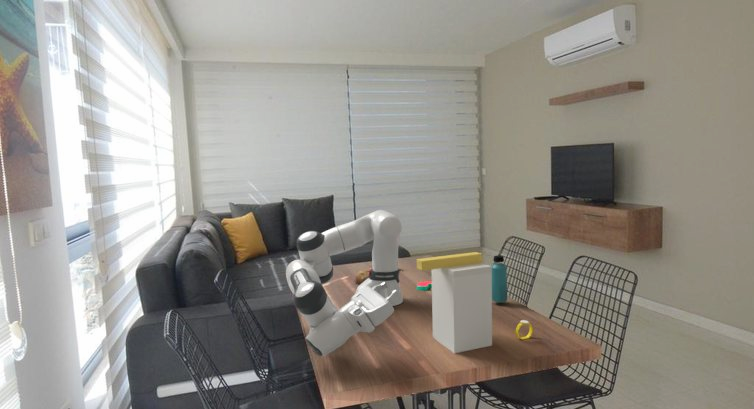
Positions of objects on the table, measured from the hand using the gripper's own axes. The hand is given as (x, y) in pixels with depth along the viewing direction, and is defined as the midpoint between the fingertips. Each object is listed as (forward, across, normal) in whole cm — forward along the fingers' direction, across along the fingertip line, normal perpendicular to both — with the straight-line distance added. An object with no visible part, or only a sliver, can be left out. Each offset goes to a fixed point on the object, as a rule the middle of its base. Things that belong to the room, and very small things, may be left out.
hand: (392, 287), depth 138 cm
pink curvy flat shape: (+29, -62, -42) cm, 80 cm away
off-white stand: (+10, 0, -30) cm, 32 cm away
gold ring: (+27, +7, -41) cm, 49 cm away
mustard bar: (+20, 0, -6) cm, 21 cm away
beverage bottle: (+40, -27, -48) cm, 67 cm away
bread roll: (+5, -83, -28) cm, 88 cm away
